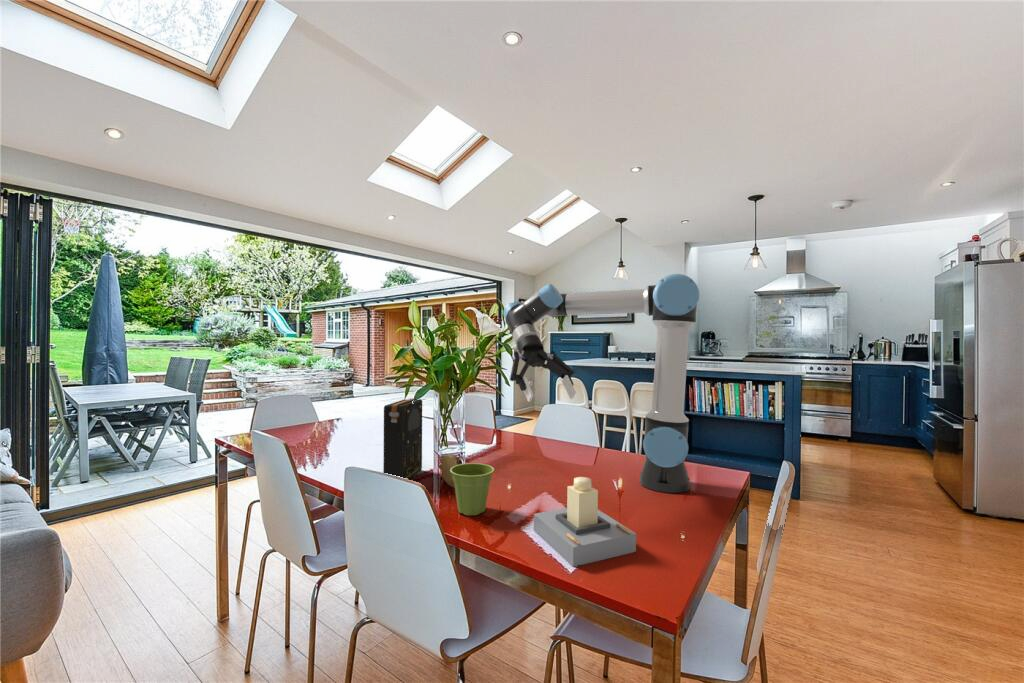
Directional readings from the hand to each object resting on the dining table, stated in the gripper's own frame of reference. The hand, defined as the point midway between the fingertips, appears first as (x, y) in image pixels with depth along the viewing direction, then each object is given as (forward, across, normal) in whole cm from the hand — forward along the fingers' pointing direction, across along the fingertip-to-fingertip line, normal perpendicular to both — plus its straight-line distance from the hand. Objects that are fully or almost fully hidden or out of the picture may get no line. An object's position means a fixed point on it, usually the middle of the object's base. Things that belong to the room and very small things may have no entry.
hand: (552, 397), depth 120 cm
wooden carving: (+3, +20, -39) cm, 44 cm away
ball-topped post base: (+36, +4, -6) cm, 37 cm away
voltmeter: (-8, +33, -51) cm, 61 cm away
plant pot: (+18, +22, -25) cm, 38 cm away
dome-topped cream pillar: (+33, +4, -4) cm, 34 cm away
